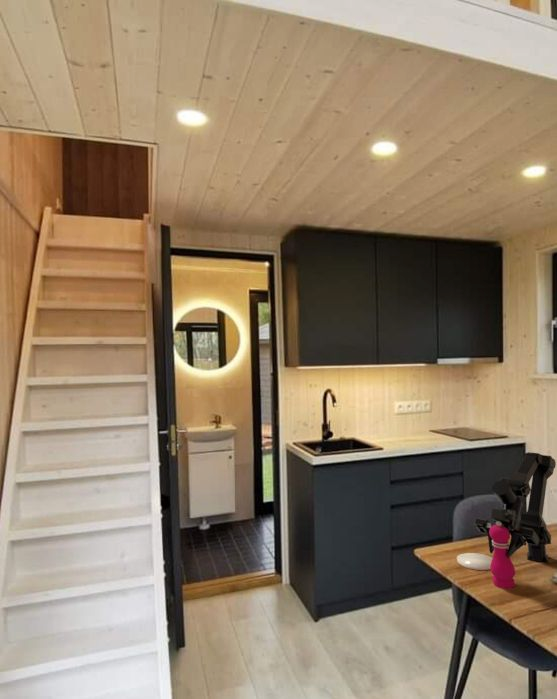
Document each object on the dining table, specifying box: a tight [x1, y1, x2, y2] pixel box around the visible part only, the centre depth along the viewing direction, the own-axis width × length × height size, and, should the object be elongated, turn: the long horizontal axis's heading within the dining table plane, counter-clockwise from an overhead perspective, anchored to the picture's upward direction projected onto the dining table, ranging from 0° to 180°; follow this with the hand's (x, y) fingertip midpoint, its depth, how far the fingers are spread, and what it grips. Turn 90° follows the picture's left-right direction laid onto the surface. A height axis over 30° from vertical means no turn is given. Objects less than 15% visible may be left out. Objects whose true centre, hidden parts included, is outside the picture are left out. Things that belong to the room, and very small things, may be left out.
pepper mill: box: [489, 521, 516, 590], centre depth 139 cm, size 7×7×20 cm
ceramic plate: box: [456, 552, 493, 571], centre depth 155 cm, size 13×13×1 cm
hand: (499, 554), depth 138 cm, fingers closed on pepper mill, 5 cm apart
